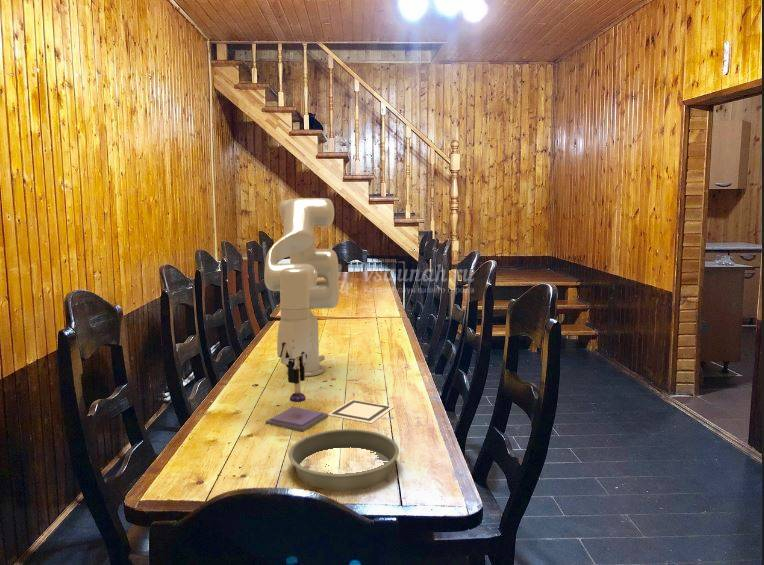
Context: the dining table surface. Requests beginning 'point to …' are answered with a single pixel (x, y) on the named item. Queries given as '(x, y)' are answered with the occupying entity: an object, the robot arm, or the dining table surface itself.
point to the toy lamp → (298, 388)
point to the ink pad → (297, 419)
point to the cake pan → (344, 439)
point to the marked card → (361, 411)
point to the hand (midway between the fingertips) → (296, 381)
